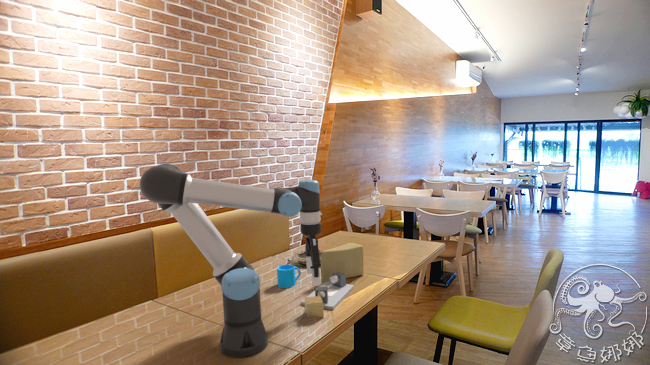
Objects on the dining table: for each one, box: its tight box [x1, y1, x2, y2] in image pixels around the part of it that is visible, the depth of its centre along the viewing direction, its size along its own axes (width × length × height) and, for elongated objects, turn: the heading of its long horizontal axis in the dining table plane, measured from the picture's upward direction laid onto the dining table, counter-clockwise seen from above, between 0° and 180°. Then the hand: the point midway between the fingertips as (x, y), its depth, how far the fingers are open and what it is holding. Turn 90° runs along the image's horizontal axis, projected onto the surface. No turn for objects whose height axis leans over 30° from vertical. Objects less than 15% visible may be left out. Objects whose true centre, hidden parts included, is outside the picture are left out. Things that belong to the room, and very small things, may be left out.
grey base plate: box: [300, 281, 355, 311], centre depth 158 cm, size 24×14×1 cm, turn 156°
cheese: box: [320, 242, 364, 284], centre depth 179 cm, size 22×10×15 cm, turn 127°
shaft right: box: [329, 272, 347, 288], centre depth 165 cm, size 7×5×5 cm
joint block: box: [304, 296, 325, 320], centre depth 140 cm, size 6×6×6 cm
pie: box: [288, 249, 324, 270], centre depth 206 cm, size 28×27×5 cm
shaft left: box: [314, 284, 328, 303], centre depth 151 cm, size 7×5×5 cm
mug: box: [276, 264, 302, 289], centre depth 174 cm, size 12×8×8 cm
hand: (313, 278), depth 139 cm, fingers open, 13 cm apart
